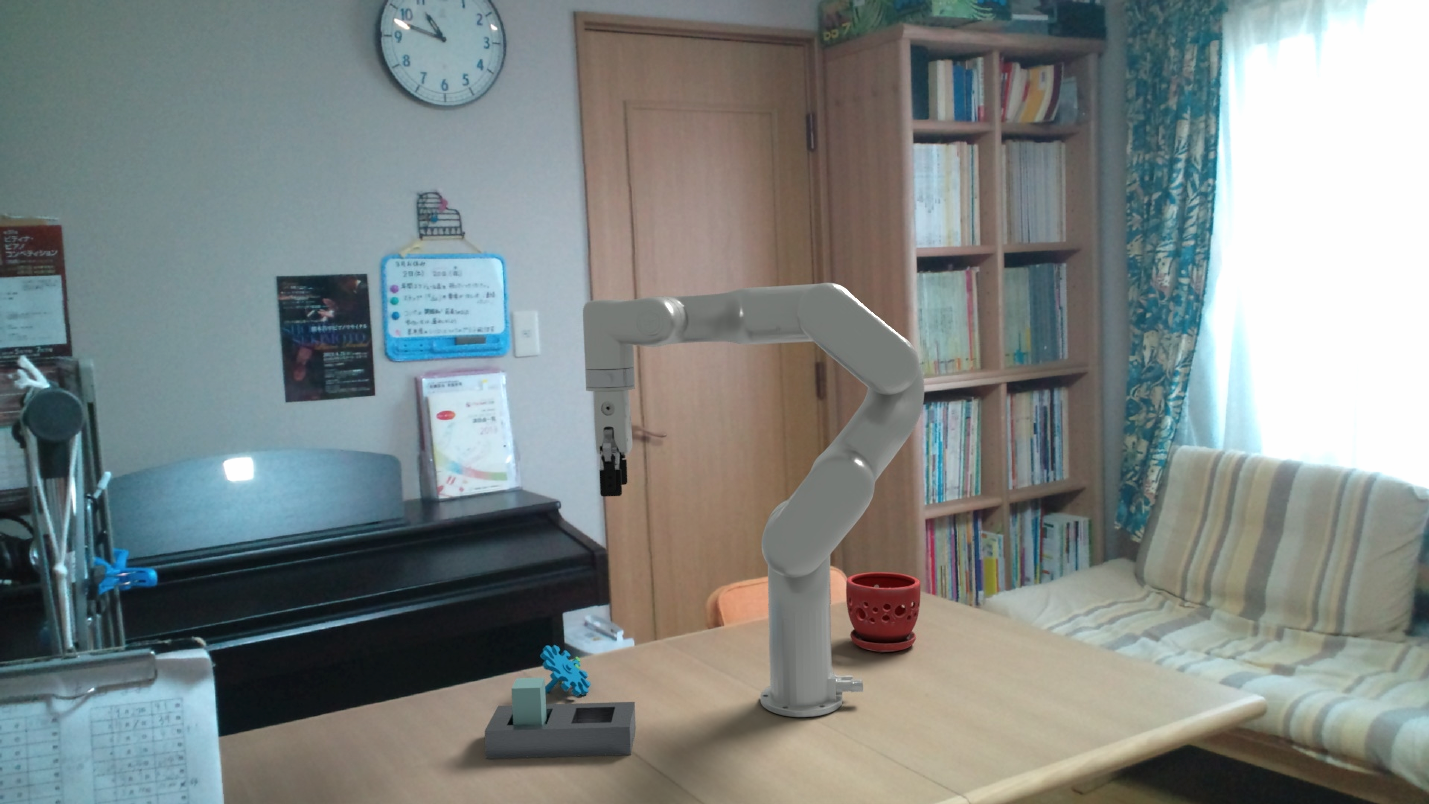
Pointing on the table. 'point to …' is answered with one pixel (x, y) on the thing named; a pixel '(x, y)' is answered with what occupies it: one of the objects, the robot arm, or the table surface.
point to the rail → (564, 732)
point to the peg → (529, 701)
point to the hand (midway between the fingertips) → (614, 490)
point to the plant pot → (883, 610)
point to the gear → (564, 671)
